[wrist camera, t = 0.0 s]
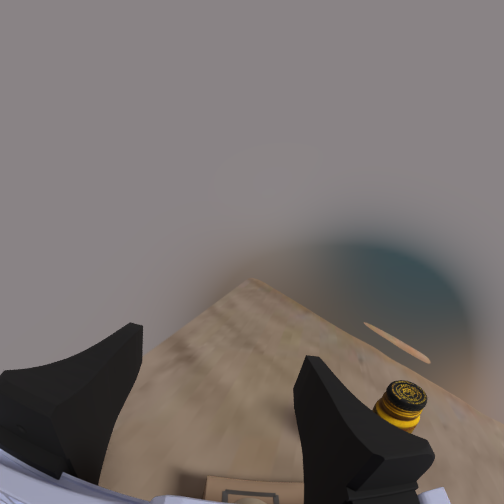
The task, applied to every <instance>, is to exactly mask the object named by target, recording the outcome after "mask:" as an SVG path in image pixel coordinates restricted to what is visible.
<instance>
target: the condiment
mask: <svg viewBox="0 0 504 504" xmlns="http://www.w3.org/2000/svg"><path fill="white" fill-rule="evenodd" d="M426 403H427V395H426V393H425V392H424V391H423V390H422V388H420V387H419V386H417V385H416V384H414V383H412V382H409V381H402V380H401V381H394V382H392V383H391V384H390V385H389V386H388V387H387V390H386V392H385V393H384V394H383V396H382V398H381V399H379V400H378V401H377V402H376V404H375V406H374V408H373V410H372V411H373V412H374V413H376V414H377V415H378V416H380V417H381V418H383V419H384V420H386V421H388V422H389V423H391V424H393V425H394V426H396V427H398V428H400V429H402V430H404V431H406V432H408V433H410V434H411V433H412V431H413V430H414V428H415V427H416V425H417V424H418V422H419V419H420V414H421V412H422V410H423V408H424V407H425V405H426Z"/></svg>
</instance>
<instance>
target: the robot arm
mask: <svg viewBox="0 0 504 504" xmlns="http://www.w3.org/2000/svg"><path fill="white" fill-rule="evenodd" d="M142 344H143V326H142V325H137V324H134V323H129V324H127V325H125V326H124V327H122V328H121V329H119V330H118V331H116V332H115V333H113V334H112V335H110V336H109V337H107V338H106V339H104V340H102V341H101V342H99V343H98V344H96V345H94V346H92V347H90V348H89V349H87V350H85V351H83V352H81V353H79V354H76V355H74V356H71V357H69V358H67V359H64V360H60V361H57V362H54V363H51V364H47V365H43V366H39V367H33V368H28V369H18V370H5V371H4V372H3V373H2V374H1V375H0V504H234V503H224V502H216V501H208V500H202V499H195V498H189V497H184V496H175V495H162V496H156V497H154V498H153V499H152V500H151V501H150V502H149V501H145V500H142V499H138V498H134V497H131V496H127V495H124V494H121V493H118V492H114V491H111V490H108V489H105V488H103V487H100V486H98V483H99V478H100V473H101V469H102V465H103V461H104V457H105V454H106V450H107V447H108V443H109V440H110V437H111V434H112V431H113V428H114V425H115V422H116V420H117V417H118V415H119V413H120V411H121V409H122V407H123V405H124V403H125V401H126V399H127V397H128V395H129V393H130V391H131V389H132V387H133V385H134V383H135V381H136V378H137V376H138V373H139V370H140V367H141V364H142ZM293 393H294V409H295V415H296V420H297V425H298V430H299V435H300V441H301V446H302V453H303V469H304V504H451V503H450V501H449V499H448V496H447V494H446V492H445V490H444V487H440V488H436V489H433V490H429V491H426V492H423V493H421V494H419V495H417V494H416V492H415V490H416V489H418V484H417V482H416V481H417V480H418V479H419V478H420V477H421V476H422V475H423V474H424V473H425V472H426V471H427V470H428V469H429V467H430V466H431V465H432V463H433V461H434V459H435V454H434V452H433V450H432V448H431V446H430V444H429V442H428V441H427V440H426V439H423V438H420V437H418V436H415V435H413V434H410V433H408V432H406V431H404V430H402V429H400V428H398V427H396V426H394V425H393V424H391V423H389V422H388V421H386V420H384V419H383V418H381V417H380V416H378V415H377V414H376V413H374V412H373V411H372V410H370V409H369V408H368V407H367V406H365V405H364V404H363V403H362V402H361V401H359V400H358V399H357V398H356V397H355V396H354V395H353V394H352V393H351V392H350V391H349V390H348V389H347V388H346V387H345V386H344V385H343V384H342V383H341V381H340V380H339V379H338V378H337V377H336V376H335V375H334V373H333V372H332V371H331V370H330V369H329V368H328V366H327V365H326V364H325V363H324V362H323V361H322V359H321V358H320V357H316V356H307V355H306V357H305V360H304V362H303V365H302V368H301V370H300V373H299V375H298V378H297V380H296V383H295V385H294V388H293Z"/></svg>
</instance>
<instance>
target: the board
mask: <svg viewBox="0 0 504 504" xmlns="http://www.w3.org/2000/svg"><path fill="white" fill-rule="evenodd" d="M203 500H208V501H216V502H224V503H234V504H304V483H293V482H265V481H251V480H240V479H231V478H222V477H215V476H207V480H206V485H205V489H204V494H203Z"/></svg>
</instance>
